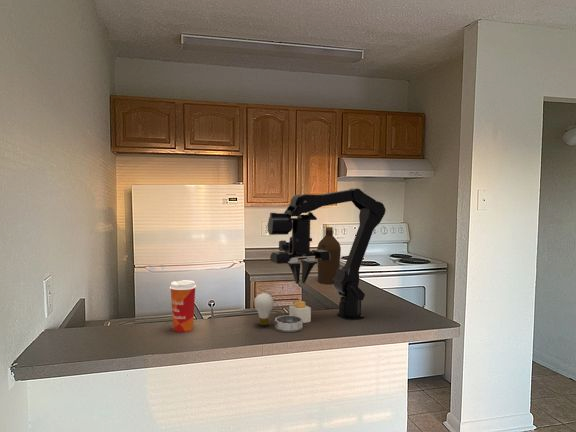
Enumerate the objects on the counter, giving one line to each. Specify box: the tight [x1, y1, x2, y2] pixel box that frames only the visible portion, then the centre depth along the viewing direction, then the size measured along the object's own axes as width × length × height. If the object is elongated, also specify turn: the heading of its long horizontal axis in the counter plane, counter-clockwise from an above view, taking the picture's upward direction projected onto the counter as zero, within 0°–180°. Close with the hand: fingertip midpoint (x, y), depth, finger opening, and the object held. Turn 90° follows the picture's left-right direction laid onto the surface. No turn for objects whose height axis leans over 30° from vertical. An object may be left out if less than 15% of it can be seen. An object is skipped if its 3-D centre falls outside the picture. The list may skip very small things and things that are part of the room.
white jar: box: [288, 304, 312, 324], centre depth 135 cm, size 5×5×5 cm
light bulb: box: [253, 292, 275, 327], centre depth 129 cm, size 6×6×10 cm
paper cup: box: [168, 279, 197, 333], centre depth 125 cm, size 8×8×14 cm
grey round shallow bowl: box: [274, 314, 304, 334], centre depth 128 cm, size 8×8×3 cm
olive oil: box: [316, 226, 342, 285], centre depth 192 cm, size 11×11×25 cm
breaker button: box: [294, 300, 306, 308], centre depth 135 cm, size 2×2×3 cm
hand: (300, 283), depth 134 cm, fingers closed
